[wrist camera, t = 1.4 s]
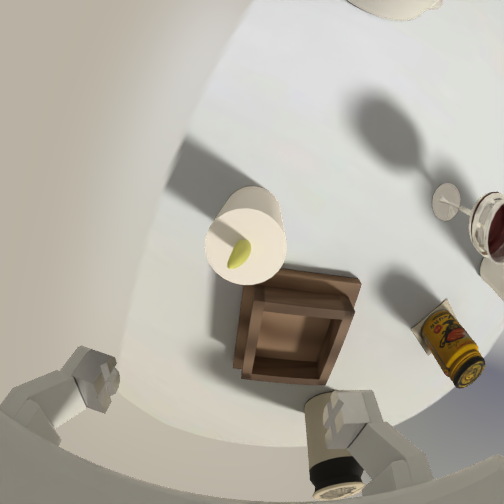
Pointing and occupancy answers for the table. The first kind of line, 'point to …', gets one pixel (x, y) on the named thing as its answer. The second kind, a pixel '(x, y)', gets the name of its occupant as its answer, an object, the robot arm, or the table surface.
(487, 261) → the drinking glass
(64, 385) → the robot arm
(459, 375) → the condiment
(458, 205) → the wineglass
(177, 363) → the table surface
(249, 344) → the candle holder
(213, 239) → the candle
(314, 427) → the travel mug
